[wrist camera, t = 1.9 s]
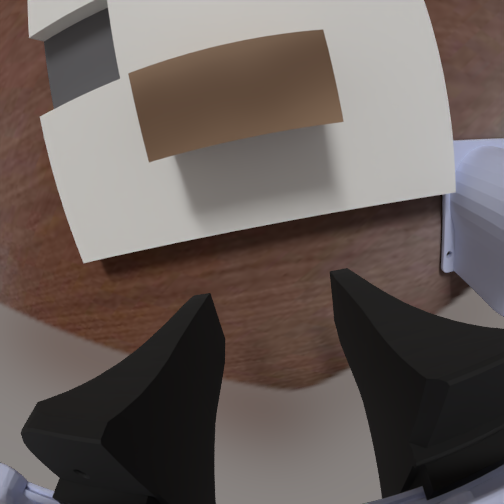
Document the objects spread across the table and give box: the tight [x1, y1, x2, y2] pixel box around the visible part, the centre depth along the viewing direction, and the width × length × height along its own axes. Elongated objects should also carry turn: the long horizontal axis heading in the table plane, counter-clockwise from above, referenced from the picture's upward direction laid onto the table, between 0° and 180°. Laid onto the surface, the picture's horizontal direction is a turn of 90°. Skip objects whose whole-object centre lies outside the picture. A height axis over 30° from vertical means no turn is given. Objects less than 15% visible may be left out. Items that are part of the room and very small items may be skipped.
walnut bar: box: [128, 29, 344, 162], centre depth 13 cm, size 4×8×4 cm, turn 102°
